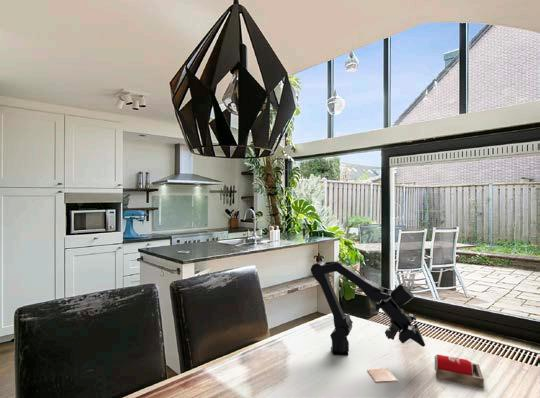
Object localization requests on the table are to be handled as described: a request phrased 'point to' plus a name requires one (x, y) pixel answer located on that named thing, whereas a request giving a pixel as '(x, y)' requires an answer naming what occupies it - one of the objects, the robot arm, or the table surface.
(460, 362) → the beverage can
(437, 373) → the walnut corral
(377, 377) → the terracotta tile
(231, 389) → the table surface
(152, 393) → the table surface
